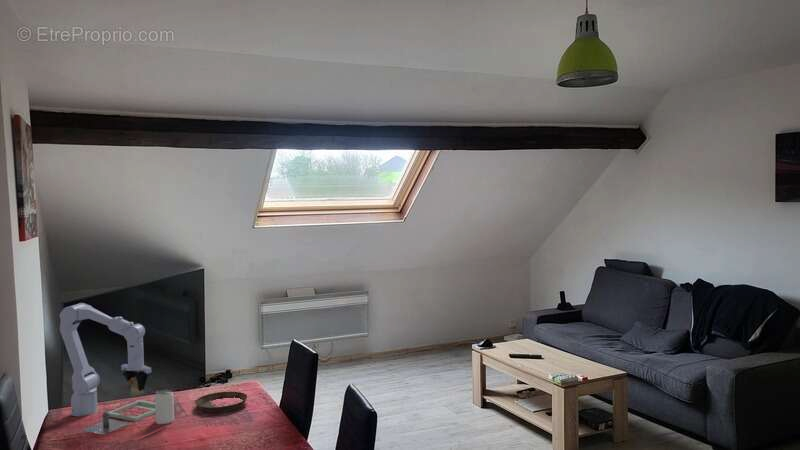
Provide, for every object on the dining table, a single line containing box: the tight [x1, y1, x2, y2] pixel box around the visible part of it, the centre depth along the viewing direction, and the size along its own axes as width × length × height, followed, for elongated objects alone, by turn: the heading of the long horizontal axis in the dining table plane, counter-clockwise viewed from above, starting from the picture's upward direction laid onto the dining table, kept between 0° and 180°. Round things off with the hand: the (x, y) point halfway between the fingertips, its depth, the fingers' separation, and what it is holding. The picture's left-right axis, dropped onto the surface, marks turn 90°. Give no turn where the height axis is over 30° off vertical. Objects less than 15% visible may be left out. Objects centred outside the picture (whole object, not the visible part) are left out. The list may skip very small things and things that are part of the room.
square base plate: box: [80, 411, 132, 436], centre depth 221 cm, size 12×12×6 cm
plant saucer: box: [194, 391, 248, 413], centre depth 244 cm, size 21×21×3 cm
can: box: [154, 388, 175, 426], centre depth 226 cm, size 6×6×12 cm
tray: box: [107, 399, 156, 422], centre depth 237 cm, size 16×16×2 cm
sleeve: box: [127, 377, 144, 396], centre depth 236 cm, size 4×6×6 cm
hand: (137, 389), depth 236 cm, fingers closed on sleeve, 4 cm apart
